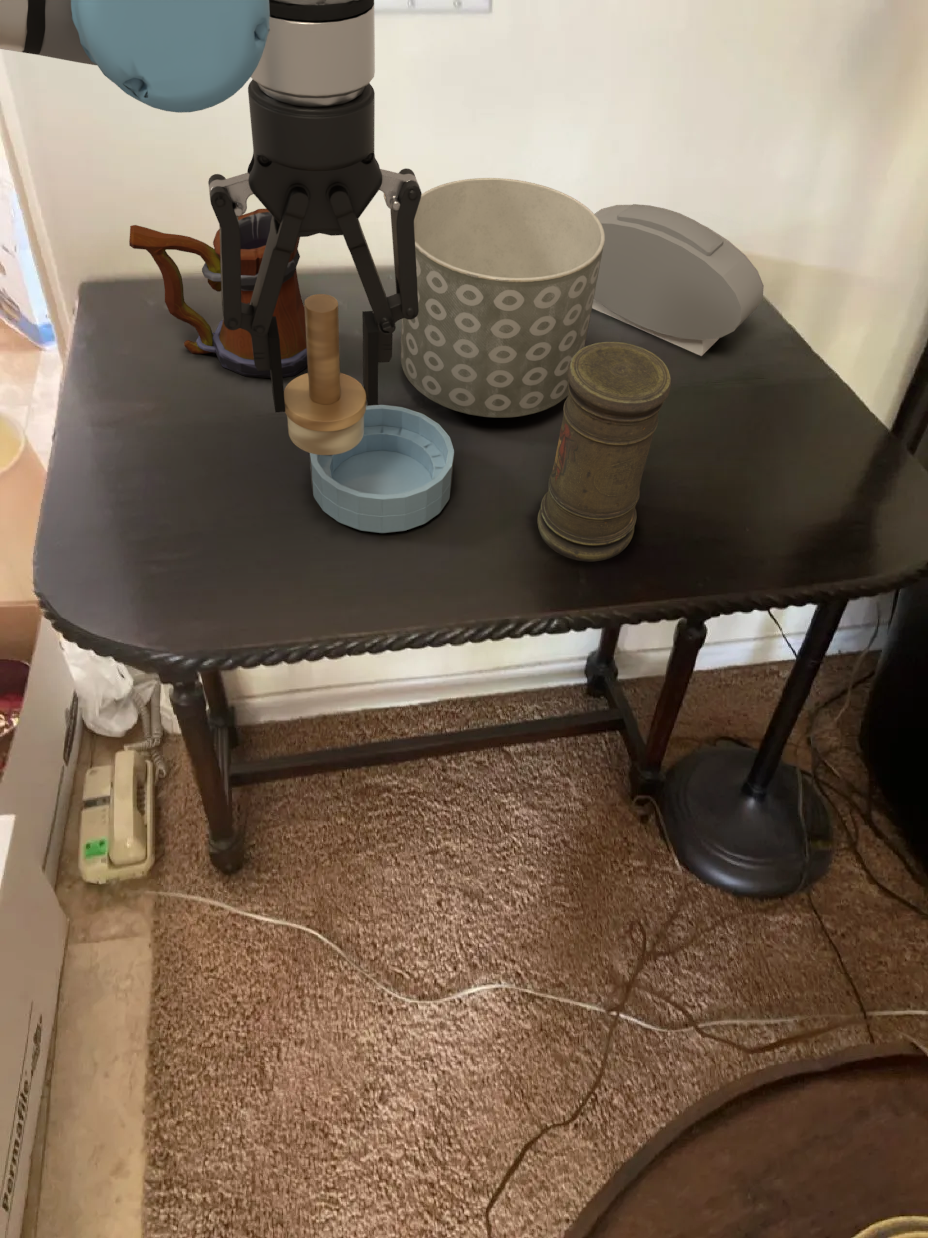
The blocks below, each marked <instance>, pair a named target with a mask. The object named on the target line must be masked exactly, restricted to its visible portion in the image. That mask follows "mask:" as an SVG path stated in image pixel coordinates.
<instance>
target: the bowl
mask: <svg viewBox="0 0 928 1238" xmlns="http://www.w3.org/2000/svg"><path fill="white" fill-rule="evenodd" d="M308 453H309V452H308ZM308 456H309V467H310V481H311V483H310V484H311V489H312V490H311V491H312V494H313V495H312V496H313V498H314V500H315V501H316V503H317V505H318V506H319V507H320V508H321V510H322V511H323V512H324V513H325V514H326V515H328V516H329V517H330V518H332V519H333V520H335V521H336V522H338V523H339V524H341V525H344V526H347V527H350V528H353V529H355V530H358V531H362V532H370V533H379V534H387V533H396V532H405V531H407V530H411V529H414V528H417V527H419V526H422V525H425V524H427V523H428V522H430V521H431V520H432V519H433V518H435V517H436V516H438V515H440V513H441V512H442V510H443V509H444V508H445V506H446V505H447V503H448V502H449V500H450V498H451V492H452V486H453V485H452V484H453V474H454V463H455V462H454V461H455V449H454V446H453V443H452V439H451V437H450V435H449V434H448V433H447V432H446V430H444V428H443V427H442V426H441V425H440V423H438V422H436V421H435V420H434V419H432V418H430V417H429V416H427V415H425V414H424V413H422V412H418V411H416V410H413V409H409V408H407V407H404V406H396V405H388V404H378V405H366V411H365V414H364V435H363V438H362V440H361V441H360V442H359V444H358V445H357V446H355V447H354V448H352V449H351V450H349V451H346V452H344V453H340V454H336V455H317V454H312V453H309V455H308Z"/></svg>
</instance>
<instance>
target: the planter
mask: <svg viewBox="0 0 928 1238" xmlns="http://www.w3.org/2000/svg"><path fill="white" fill-rule="evenodd" d="M414 233H415V252H416V271H417V290H418V309H419V312H418V315H417V317H415V318H414V319H411V320H409V319H406V318H403V319H400V320H401V325H400V364H401V367H402V371H403V373H404V375H405V377H406V379H407V380H408V381H409V383H410V384H411V386H413V387H414V388H415V389H416V390H417V391H418V392H419V393H420V394H421V395H423V396H425V397H426V398H427V399H429V400H430V401H432V402H434V403H436V404H438V405H440V406H442V407H444V408H447V409H449V410H452V411H455V412H457V413H458V412H459V413H463V414H465V415H470V416H477V417H483V418H496V419H497V418H500V419H501V418H517V417H525V416H528V415H534V414H536V413H541V412H543V411H546V410H548V409H550V408H553V407H555V406H556V405H557V404H559V403H561V402H562V401H563V400H565V399H567V398H568V394H569V389H568V382H569V380H568V375H567V370H568V365H569V363H570V361H571V359H572V357H573V356H574V355H575V354H576V353H577V352H578V351H579V350H581V349H582V348H584V347H586V341H587V335H588V331H589V326H590V319H591V314H592V309H593V308H592V305H593V300H594V294H595V289H596V284H597V279H598V273H599V268H600V263H601V258H602V252H603V247H604V242H605V234H604V230H603V227H602V224H601V223H600V221H599V219H598V218H597V217H596V215H595V212H593V211H592V210H591V209H590V208H589V207H587V206H586V205H585V204H584V203H582V202H581V201H580V200H578V199H576V198H574V197H572V196H570V195H569V194H568V193H565V192H562V191H560V190H557V189H555V188H552V187H549V186H546V185H542V184H539V183H535V182H531V181H526V180H520V179H512V178H501V177H477V178H475V177H474V178H466V179H459V180H454V181H450V182H447V183H443V184H440V185H437V186H434V187H432V188H430V189H428V190H426V191H424V192H422V195H421V199H420V202H419V206H418V209H417V212H416V215H415V219H414Z"/></svg>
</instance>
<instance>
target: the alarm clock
mask: <svg viewBox="0 0 928 1238" xmlns="http://www.w3.org/2000/svg"><path fill="white" fill-rule="evenodd" d="M594 214H595V215H596V217H597V218H598V219H599V221H600V223H601V224H602V227H603V230H604V234H605V242H604V247H603V252H602V258H601V263H600V268H599V273H598V279H597V284H596V289H595V294H594V300H593V305H592V309H593V310H595V311H597V312H599V313H601V314H605V315H606V316H609V317H611V318H613V319H616V320H618V321H620V322H622V323H624V324H627V325H630V326H631V327H633V328H636V329H638V330H641V331H643V332H645V333H648V334H650V335H652V336H653V337H657V338H659V339H661V340H664V341H666V342H668V343H671V344H673V345H675V346H677V347H680V348H682V349H683V350H687V351H689V352H691V353H693V354H695V355H698V356H700V357H702V356H703V355H704V354H706V352H708V351H709V349H711V347H712V346H714V345H715V343H716V342H717V341H718V340H719V339H721V338H723V337H725V336H727V335H730V334H731V333H733V332H735V331H736V330H737V328H738V327H739V326H741V325H742V324H743V323H744V322H745V320H747V319H748V318H749V317H750V316H751V315H752V314H753V313H754V312H755V310H757V308H758V307H759V305H760V304H761V303H762V301H763V300H764V288H765V286H764V283H763V280H762V278H761V276H760V273H759V271H758V269H757V268H756V267H755V265H754V264H753V263H752V261H751V260H750V259H749V258H748V256H747V255H746V254H745V253H743V251H741V250H740V249H739V248H738V247H736V246H735V244H733V243H732V242H731V241H730V240H729V239H727V238H725V237H724V236H722V235H721V234H719V233H717V232H716V231H715V230H713V229H711V228H710V227H708V226H706V225H704V224H702V223H700V222H698V221H697V220H695V219H693V218H691V217H689V216H687V215H685V214H682V213H680V212H677V211H674V210H670V209H668V208H664V207H661V206H654V205H651V204H650V205H649V204H636V203H633V204H615V205H611V206H608V207H607V206H606V207H603V208H601V209H599V210H598V211H596V212H594Z"/></svg>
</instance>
